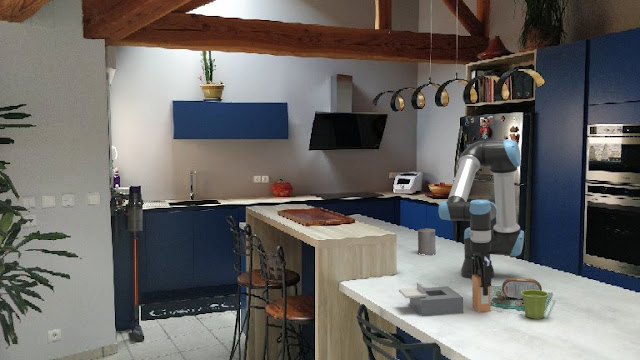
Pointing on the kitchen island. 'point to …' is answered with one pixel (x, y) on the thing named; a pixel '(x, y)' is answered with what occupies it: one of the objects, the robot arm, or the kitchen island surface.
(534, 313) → the plant pot
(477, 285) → the orange square bottle
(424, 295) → the shutter
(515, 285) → the tin
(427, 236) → the pillar candle
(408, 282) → the kitchen island surface
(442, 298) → the socket
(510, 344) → the kitchen island surface
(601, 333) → the kitchen island surface
